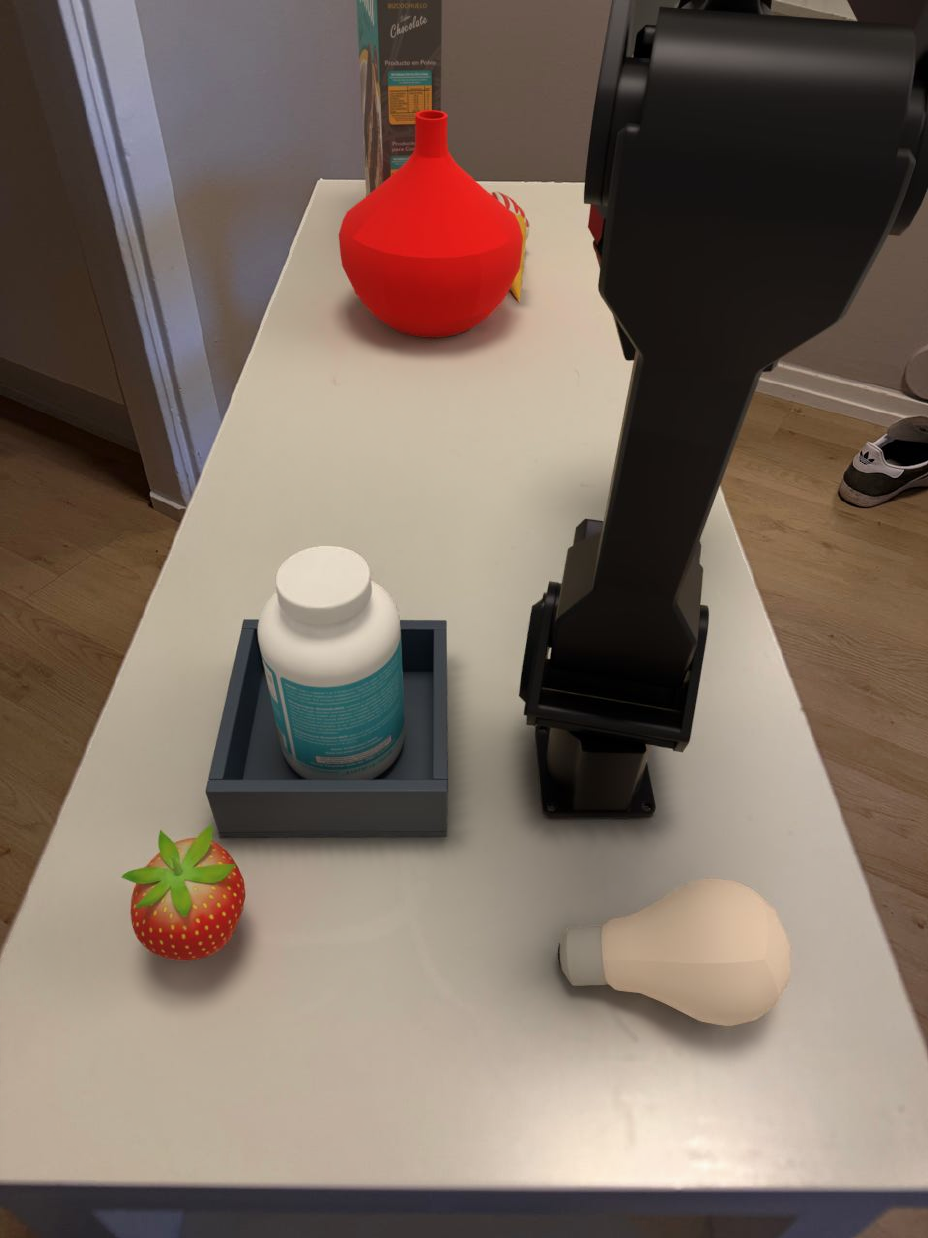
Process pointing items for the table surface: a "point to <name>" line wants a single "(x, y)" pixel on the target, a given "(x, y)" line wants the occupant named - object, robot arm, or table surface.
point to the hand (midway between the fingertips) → (650, 396)
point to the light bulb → (689, 952)
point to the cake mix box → (396, 78)
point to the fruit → (187, 898)
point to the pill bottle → (333, 666)
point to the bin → (296, 807)
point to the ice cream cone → (525, 232)
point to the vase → (430, 242)
